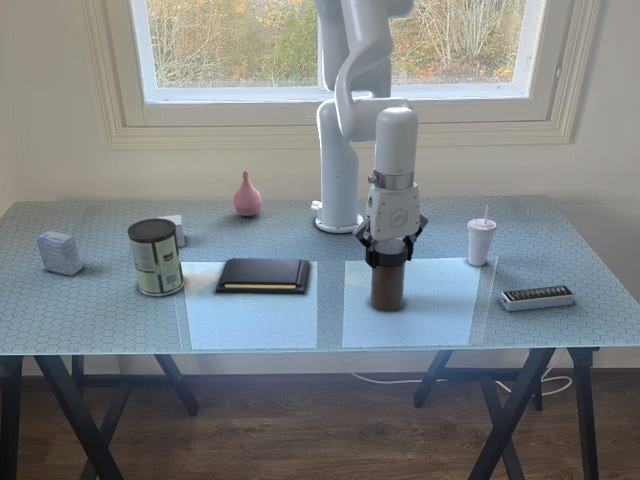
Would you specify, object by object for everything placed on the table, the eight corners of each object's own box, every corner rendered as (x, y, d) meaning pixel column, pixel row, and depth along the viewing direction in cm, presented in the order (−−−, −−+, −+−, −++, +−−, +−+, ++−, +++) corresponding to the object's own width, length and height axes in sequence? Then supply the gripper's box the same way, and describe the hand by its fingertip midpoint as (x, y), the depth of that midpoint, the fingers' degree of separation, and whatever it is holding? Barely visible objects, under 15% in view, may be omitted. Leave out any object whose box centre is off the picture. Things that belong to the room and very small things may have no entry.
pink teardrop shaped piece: (238, 208, 181) (234, 166, 174) (264, 209, 180) (262, 167, 173) (232, 220, 175) (227, 177, 168) (259, 221, 174) (256, 177, 167)
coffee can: (153, 271, 152) (142, 215, 144) (192, 277, 149) (184, 221, 141) (129, 293, 144) (117, 234, 136) (170, 299, 141) (160, 240, 133)
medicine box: (83, 268, 154) (74, 235, 149) (70, 277, 151) (61, 243, 146) (57, 262, 157) (48, 229, 152) (44, 271, 154) (34, 237, 148)
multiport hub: (573, 304, 136) (575, 294, 135) (507, 311, 134) (509, 302, 133) (563, 294, 139) (565, 284, 138) (499, 300, 138) (501, 291, 136)
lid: (415, 257, 131) (416, 246, 130) (390, 270, 127) (391, 258, 126) (388, 246, 136) (388, 234, 134) (363, 257, 132) (363, 245, 130)
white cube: (161, 249, 162) (157, 226, 158) (160, 239, 166) (156, 217, 163) (185, 246, 162) (181, 224, 159) (183, 236, 167) (180, 214, 164)
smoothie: (491, 269, 149) (500, 212, 141) (462, 267, 150) (470, 210, 142) (490, 256, 154) (499, 201, 146) (462, 255, 155) (470, 199, 147)
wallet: (310, 256, 152) (303, 288, 140) (310, 263, 154) (303, 295, 141) (227, 253, 154) (213, 285, 142) (227, 260, 156) (214, 292, 143)
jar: (364, 305, 138) (366, 251, 130) (380, 292, 142) (383, 239, 134) (392, 315, 134) (395, 260, 127) (408, 301, 139) (412, 247, 131)
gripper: (361, 192, 116) (358, 278, 127) (444, 177, 121) (435, 261, 132) (343, 178, 122) (342, 262, 133) (424, 165, 127) (417, 246, 138)
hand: (388, 261), depth 132 cm, fingers closed on lid, 7 cm apart
